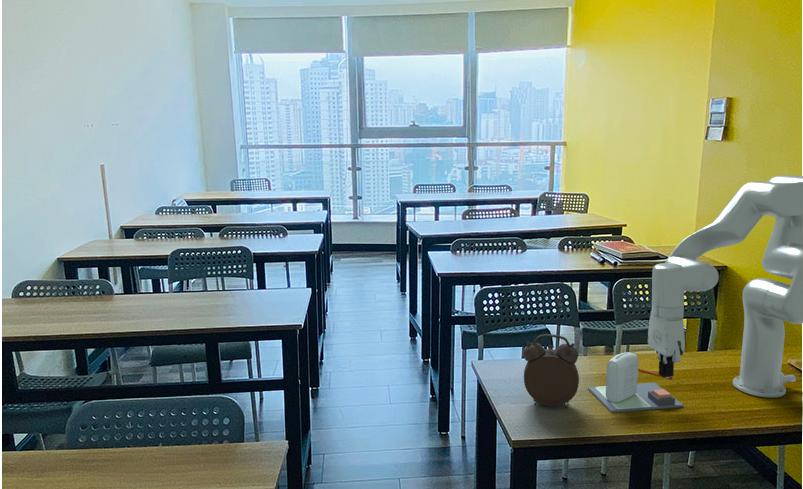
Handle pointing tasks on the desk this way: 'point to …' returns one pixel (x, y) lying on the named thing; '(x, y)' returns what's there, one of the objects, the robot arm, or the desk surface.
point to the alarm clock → (551, 372)
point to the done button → (661, 393)
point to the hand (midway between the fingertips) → (666, 375)
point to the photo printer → (622, 377)
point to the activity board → (636, 399)
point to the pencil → (652, 373)
